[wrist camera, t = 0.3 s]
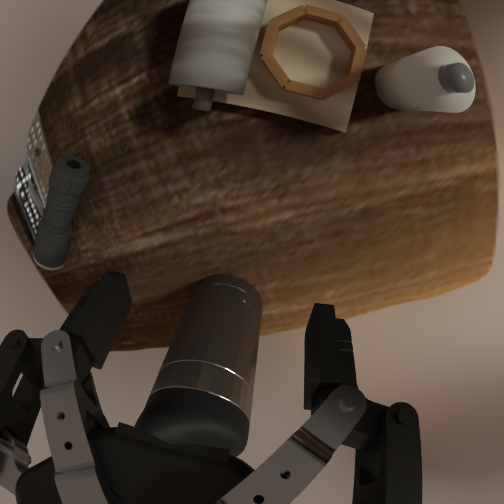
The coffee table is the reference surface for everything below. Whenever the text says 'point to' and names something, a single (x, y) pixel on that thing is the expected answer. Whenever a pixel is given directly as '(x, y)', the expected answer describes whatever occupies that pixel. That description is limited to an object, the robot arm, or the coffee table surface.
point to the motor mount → (273, 57)
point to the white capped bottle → (427, 82)
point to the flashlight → (60, 211)
